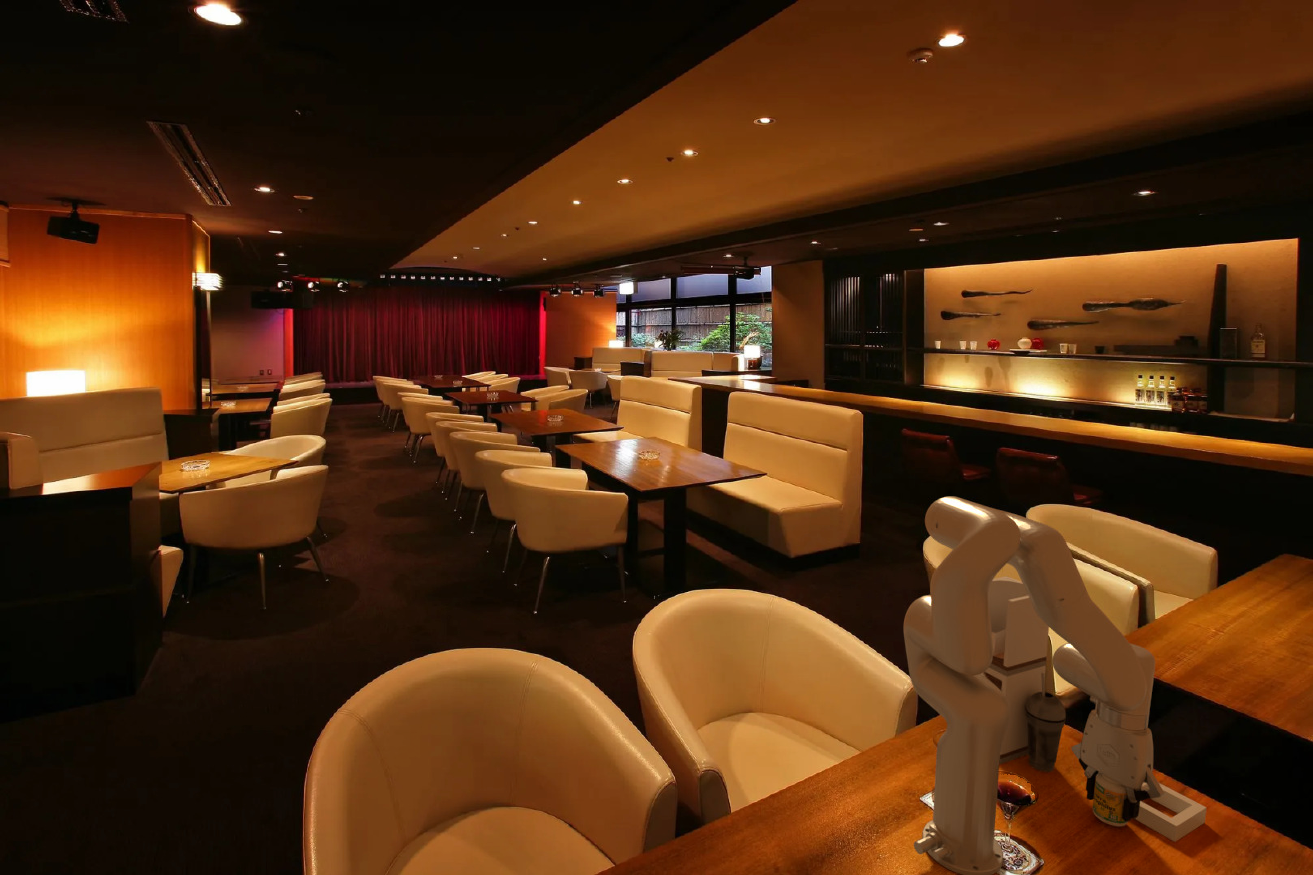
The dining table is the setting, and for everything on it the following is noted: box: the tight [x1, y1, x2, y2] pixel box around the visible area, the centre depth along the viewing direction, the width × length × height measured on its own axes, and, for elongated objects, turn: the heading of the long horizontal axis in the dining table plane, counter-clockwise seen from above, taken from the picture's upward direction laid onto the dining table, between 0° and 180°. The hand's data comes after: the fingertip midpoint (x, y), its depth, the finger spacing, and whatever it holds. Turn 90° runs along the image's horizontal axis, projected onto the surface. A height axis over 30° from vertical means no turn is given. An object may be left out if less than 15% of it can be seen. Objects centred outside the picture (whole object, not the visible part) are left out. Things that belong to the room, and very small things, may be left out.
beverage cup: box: [1025, 673, 1067, 773], centre depth 135 cm, size 7×7×20 cm
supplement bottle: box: [1092, 772, 1129, 827], centre depth 120 cm, size 5×5×10 cm
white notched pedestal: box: [981, 576, 1050, 765], centre depth 142 cm, size 11×11×35 cm
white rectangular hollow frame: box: [1135, 782, 1207, 843], centre depth 122 cm, size 10×10×3 cm
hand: (1110, 806), depth 120 cm, fingers closed on supplement bottle, 5 cm apart
